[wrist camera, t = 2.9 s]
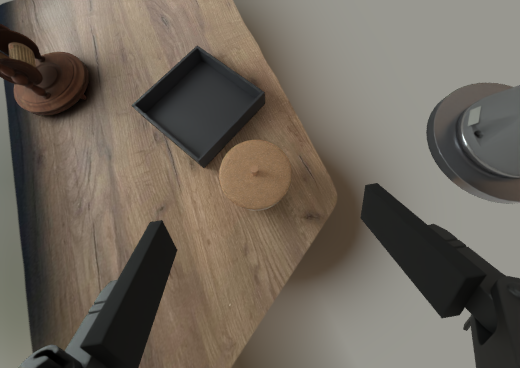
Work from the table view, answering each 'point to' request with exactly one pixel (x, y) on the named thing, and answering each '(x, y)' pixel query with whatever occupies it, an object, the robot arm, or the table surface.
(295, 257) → the table surface
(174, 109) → the tray
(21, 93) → the scroll
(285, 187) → the trinket box
